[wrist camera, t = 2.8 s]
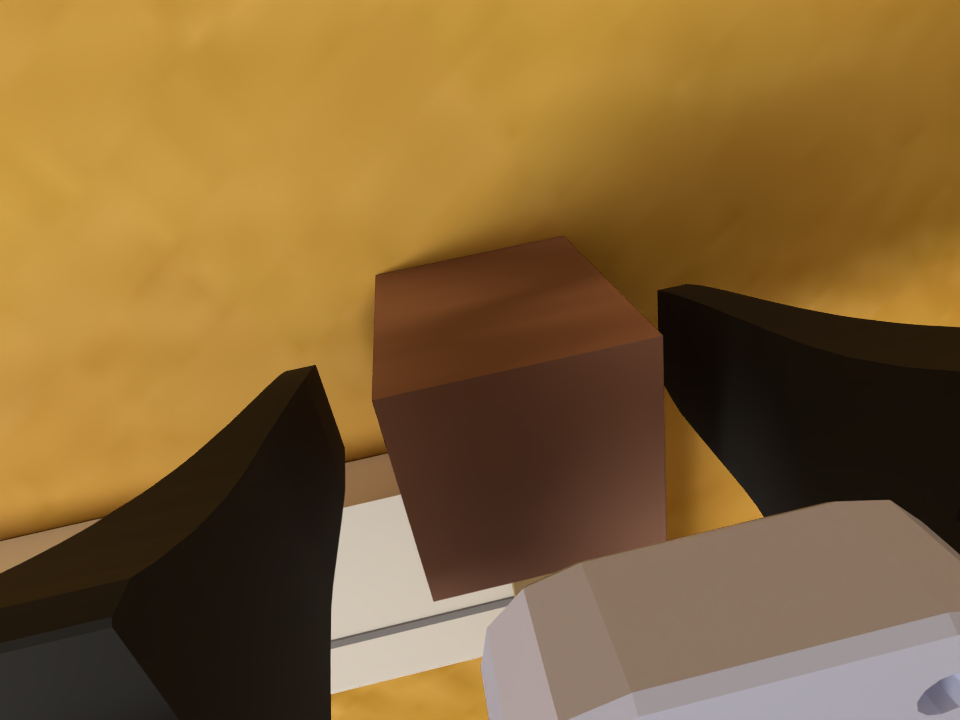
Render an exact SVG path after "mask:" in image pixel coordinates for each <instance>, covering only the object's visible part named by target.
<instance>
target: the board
mask: <svg viewBox="0 0 960 720" xmlns="http://www.w3.org/2000/svg"><path fill="white" fill-rule="evenodd" d="M101 519H102V518H101ZM101 519H96V520H92V521H87V522H83V523H79V524H74V525H70V526H65V527H61V528H57V529H52V530H48V531H43V532H39V533H35V534H30V535H26V536H21V537H17V538H13V539H8V540H4V541H0V573H2V572H4V571H6V570H8V569H10V568H12V567H14V566H16V565H18V564H20V563H22V562H24V561H26V560H28V559H30V558H32V557H34V556H36V555H38V554H40V553H42V552H44V551H46V550H48V549H50V548H51V547H53V546H55V545H57V544H59V543H61V542H63V541H64V540H66V539H68V538H70V537H72V536H73V535H75V534H77V533H79V532H81V531H82V530H84V529H86V528H88V527H89V526H91V525H93V524H94V523H96V522H97V521H99V520H101ZM513 599H514V593H513V588H512V584H511V583H510V584H506V585H502V586H497V587H493V588H489V589H485V590H481V591H477V592H472V593H468V594H464V595H460V596H456V597H452V598H448V599H443V600H439V601H435V602H433V599H432V595H431V592H430V589H429V586H428V582H427V579H426V576H425V572H424V569H423V566H422V563H421V559H420V556H419V553H418V550H417V546H416V543H415V540H414V536H413V533H412V530H411V527H410V523H409V520H408V517H407V514H406V510H405V507H404V504H403V500H402V497H401V494H400V491H399V487H398V484H397V481H396V478H395V474H394V471H393V468H392V465H391V461H390V458H389V455H388V453H387V454H383V455H378V456H374V457H369V458H365V459H361V460H356V461H352V462H347V463H345V498H344V506H343V514H342V522H341V530H340V538H339V545H338V553H337V560H336V568H335V575H334V583H333V594H332V606H331V694H334V693H338V692H342V691H346V690H350V689H354V688H358V687H362V686H366V685H370V684H374V683H378V682H382V681H386V680H390V679H394V678H399V677H403V676H407V675H411V674H415V673H419V672H423V671H427V670H431V669H435V668H439V667H443V666H447V665H451V664H455V663H459V662H463V661H467V660H471V659H475V658H479V657H483V650H484V643H485V636H486V629H487V627H488V626H489V625H490V624H491V623H492V622H493V621H494V620H495V619H496V617H497V616H498V615H499V614H500V613H501V612H502V611H503V610H504V609H505V608H506V607H507V606H508V604H509V603H510V602H511V601H512V600H513Z"/></svg>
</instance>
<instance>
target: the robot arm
mask: <svg viewBox="0 0 960 720" xmlns="http://www.w3.org/2000/svg"><path fill="white" fill-rule="evenodd" d="M657 292H658V331H659V332H660V333H661V334H662V335H663V366H664V386H665V387H666V389H667V391H668V393H669V395H670V396H671V398H672V400H673V401H674V403H675V404H676V406H677V408H678V409H679V411H680V412H681V414H682V415H683V416H684V417H685V419H686V420H687V421H688V422H689V424H690V425H691V426H692V427H693V428H694V430H695V431H696V432H697V433H698V435H699V436H700V437H701V438H702V439H703V441H704V442H705V443H706V444H707V445H708V447H709V448H710V449H711V450H712V451H713V453H714V454H715V455H716V456H717V457H718V459H719V460H720V461H721V462H722V463H723V464H724V466H725V467H726V468H727V469H728V470H729V472H730V473H731V474H732V475H733V476H734V478H735V479H736V480H737V481H738V482H739V484H740V485H741V486H742V487H743V488H744V490H745V491H746V492H747V494H748V495H749V496H750V498H751V499H752V500H753V502H754V503H755V504H756V506H757V507H758V508H759V510H760V512H761V513H762V515H763V516H764V518H760V519H755V520H751V521H747V522H743V523H739V524H735V525H730V526H726V527H722V528H718V529H714V530H710V531H705V532H701V533H697V534H693V535H689V536H685V537H681V538H676V539H672V540H668V541H664V542H660V543H656V544H651V545H647V546H643V547H639V548H635V549H631V550H627V551H622V552H618V553H614V554H610V555H606V556H602V557H597V558H593V559H589V560H585V561H581V562H577V563H575V564H573V565H571V566H568V567H566V568H564V569H562V570H559V571H557V572H555V573H553V574H550V575H548V576H546V577H544V578H541V579H539V580H537V581H535V582H532V583H530V584H528V585H527V586H526V587H524V588H523V589H522V590H521V591H520V593H519V594H518V595H517V596H516V597H515V598H514V599H513V600H512V601H511V602H510V603H509V604H508V606H507V607H506V608H505V609H504V610H503V611H502V612H501V613H500V614H499V615H498V616H497V617H496V619H495V620H494V621H493V622H492V623H491V624H490V625H489V626H488V627H487V629H486V636H485V643H484V650H483V657H482V664H481V671H482V678H483V684H484V690H485V696H486V702H487V709H488V715H489V720H960V327H944V326H927V325H913V324H901V323H892V322H884V321H875V320H867V319H859V318H852V317H845V316H839V315H833V314H828V313H823V312H817V311H812V310H807V309H802V308H797V307H792V306H788V305H783V304H779V303H775V302H770V301H766V300H762V299H758V298H754V297H749V296H745V295H741V294H737V293H733V292H729V291H724V290H720V289H715V288H711V287H706V286H700V285H691V284H685V285H680V286H676V287H671V288H666V289H662V290H657ZM344 498H345V447H344V445H343V442H342V439H341V436H340V433H339V430H338V427H337V425H336V422H335V419H334V416H333V413H332V410H331V407H330V404H329V402H328V399H327V396H326V393H325V390H324V387H323V384H322V382H321V379H320V376H319V373H318V370H317V367H316V365H313V366H308V367H304V368H299V369H294V370H290V371H285V372H284V373H282V374H281V375H280V376H278V377H277V378H276V379H275V380H274V381H273V382H272V383H271V384H270V385H268V386H267V387H266V388H265V389H264V390H263V391H262V392H261V393H260V394H259V395H258V396H257V397H256V398H255V399H254V400H253V401H252V402H251V403H250V404H249V405H248V406H247V407H246V408H245V409H244V410H243V411H242V412H241V413H240V414H239V415H238V416H237V417H236V418H234V419H233V420H232V421H231V422H230V423H229V424H228V425H227V426H226V427H225V428H224V429H222V430H221V431H220V432H219V433H218V434H217V435H216V436H215V437H213V438H212V439H211V440H210V441H209V442H208V443H207V444H206V445H204V446H203V447H202V448H201V449H200V450H199V451H198V452H196V453H195V454H194V455H193V456H192V457H190V458H189V459H188V460H187V461H186V462H184V463H183V464H182V465H180V466H179V467H178V468H177V469H175V470H174V471H173V472H171V473H170V474H169V475H167V476H166V477H164V478H163V479H162V480H160V481H159V482H158V483H156V484H155V485H153V486H152V487H151V488H149V489H148V490H146V491H145V492H143V493H142V494H140V495H139V496H137V497H136V498H134V499H133V500H131V501H129V502H128V503H126V504H125V505H123V506H121V507H120V508H118V509H117V510H115V511H113V512H112V513H110V514H109V515H107V516H105V517H104V518H102V519H101V520H99V521H97V522H96V523H94V524H93V525H91V526H89V527H88V528H86V529H84V530H82V531H81V532H79V533H77V534H75V535H73V536H72V537H70V538H68V539H66V540H64V541H63V542H61V543H59V544H57V545H55V546H53V547H51V548H50V549H48V550H46V551H44V552H42V553H40V554H38V555H36V556H34V557H32V558H30V559H28V560H26V561H24V562H22V563H20V564H18V565H16V566H14V567H12V568H10V569H8V570H6V571H4V572H2V573H0V720H331V606H332V594H333V583H334V575H335V568H336V560H337V553H338V545H339V538H340V530H341V522H342V514H343V506H344Z"/></svg>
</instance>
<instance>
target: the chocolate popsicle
mask: <svg viewBox="0 0 960 720" xmlns="http://www.w3.org/2000/svg"><path fill="white" fill-rule="evenodd" d="M372 402H373V406H374V409H375V412H376V415H377V419H378V422H379V425H380V429H381V432H382V435H383V438H384V442H385V445H386V448H387V451H388V455H389V458H390V461H391V465H392V468H393V471H394V474H395V478H396V481H397V484H398V487H399V491H400V494H401V497H402V500H403V504H404V507H405V510H406V514H407V517H408V520H409V523H410V527H411V530H412V533H413V536H414V540H415V543H416V546H417V550H418V553H419V556H420V559H421V563H422V566H423V569H424V572H425V576H426V579H427V582H428V586H429V589H430V592H431V595H432V599H433V602H435V601H439V600H443V599H448V598H452V597H456V596H460V595H464V594H468V593H472V592H477V591H481V590H485V589H489V588H493V587H497V586H502V585H506V584H510V583H511V584H512V588H513V593H514V598H515V597H516V596H517V595H518V594H519V593H520V591H521V590H522V589H523V588H524V587H526V586H527V585H528V584H530V583H532V582H535V581H537V580H539V579H541V578H544V577H546V576H548V575H550V574H553V573H555V572H557V571H559V570H562V569H564V568H566V567H568V566H571V565H573V564H575V563H577V562H581V561H585V560H589V559H593V558H597V557H602V556H606V555H610V554H614V553H618V552H622V551H627V550H631V549H635V548H639V547H643V546H647V545H651V544H656V543H660V542H664V541H667V536H666V479H665V423H664V366H663V335H662V334H661V333H660V332H659V331H658V330H657V329H656V328H655V327H654V326H653V325H652V324H651V323H650V322H649V321H648V320H647V319H646V318H645V317H644V316H643V315H642V314H641V313H640V312H639V311H638V310H637V309H636V308H635V307H634V306H633V305H632V304H631V303H630V302H629V301H628V300H627V299H626V298H625V297H624V296H623V295H622V294H621V293H620V292H619V291H618V290H617V289H616V288H615V287H614V286H613V285H612V284H611V283H610V282H609V281H608V280H607V279H606V278H605V277H604V276H603V275H602V274H601V273H600V272H599V271H598V270H597V269H596V268H595V267H594V266H593V265H592V264H591V263H590V262H589V261H588V260H587V259H586V258H585V257H584V256H583V255H582V254H581V253H580V252H579V251H578V250H577V249H576V248H575V247H574V246H573V245H572V244H571V243H570V242H569V241H568V240H567V239H566V238H565V237H564V236H560V237H555V238H550V239H546V240H541V241H536V242H531V243H527V244H522V245H517V246H513V247H508V248H503V249H498V250H494V251H489V252H484V253H479V254H475V255H470V256H465V257H460V258H456V259H451V260H446V261H441V262H437V263H432V264H427V265H422V266H418V267H413V268H408V269H403V270H399V271H394V272H389V273H385V274H380V275H376V279H375V312H374V345H373V378H372Z"/></svg>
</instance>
